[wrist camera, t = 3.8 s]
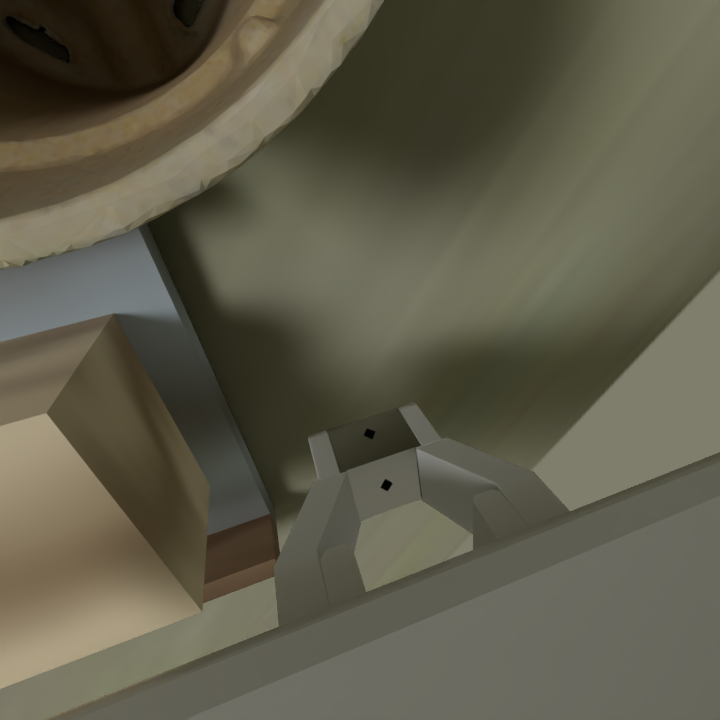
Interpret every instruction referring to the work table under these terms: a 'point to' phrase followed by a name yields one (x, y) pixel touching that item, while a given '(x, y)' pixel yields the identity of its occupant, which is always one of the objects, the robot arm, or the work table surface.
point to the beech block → (91, 500)
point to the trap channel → (159, 383)
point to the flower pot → (148, 106)
